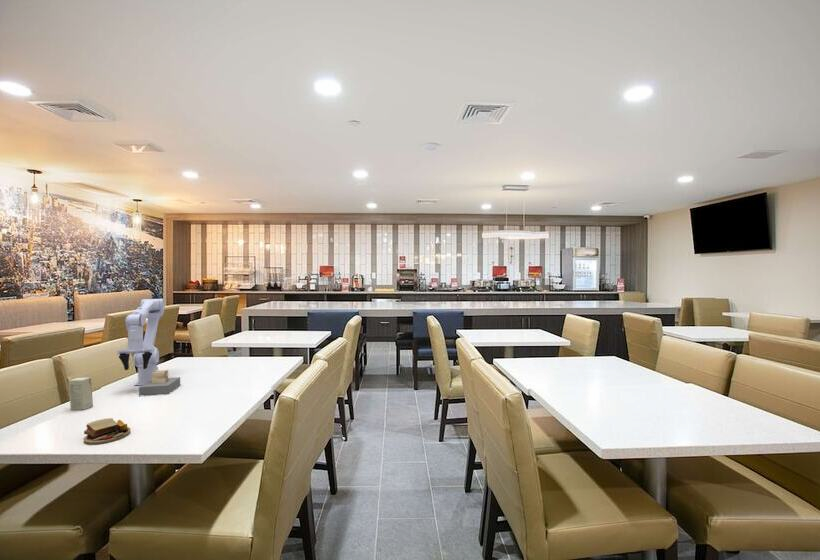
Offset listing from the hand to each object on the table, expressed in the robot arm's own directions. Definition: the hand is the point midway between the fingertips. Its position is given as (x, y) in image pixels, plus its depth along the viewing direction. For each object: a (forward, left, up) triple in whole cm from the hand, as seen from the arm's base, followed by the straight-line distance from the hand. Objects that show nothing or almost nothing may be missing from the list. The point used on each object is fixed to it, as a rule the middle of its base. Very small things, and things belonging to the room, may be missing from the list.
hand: (136, 369), depth 183 cm
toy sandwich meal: (+55, +15, -11) cm, 58 cm away
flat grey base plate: (+1, +11, -10) cm, 15 cm away
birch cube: (+1, +11, -6) cm, 12 cm away
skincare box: (+20, -11, -11) cm, 26 cm away
